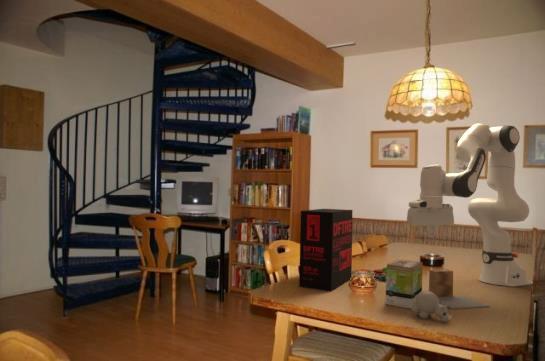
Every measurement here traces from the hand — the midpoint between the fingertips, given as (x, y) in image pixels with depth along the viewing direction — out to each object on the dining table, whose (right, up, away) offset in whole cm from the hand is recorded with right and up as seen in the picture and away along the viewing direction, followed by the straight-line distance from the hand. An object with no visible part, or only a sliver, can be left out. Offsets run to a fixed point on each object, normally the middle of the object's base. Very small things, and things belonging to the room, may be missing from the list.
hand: (430, 236), depth 168 cm
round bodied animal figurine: (-14, -22, -37) cm, 45 cm away
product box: (-42, -22, +11) cm, 48 cm away
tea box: (-17, -22, -18) cm, 33 cm away
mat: (+4, -22, -17) cm, 28 cm away
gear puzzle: (-8, -24, +29) cm, 38 cm away
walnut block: (+1, -22, -7) cm, 24 cm away
